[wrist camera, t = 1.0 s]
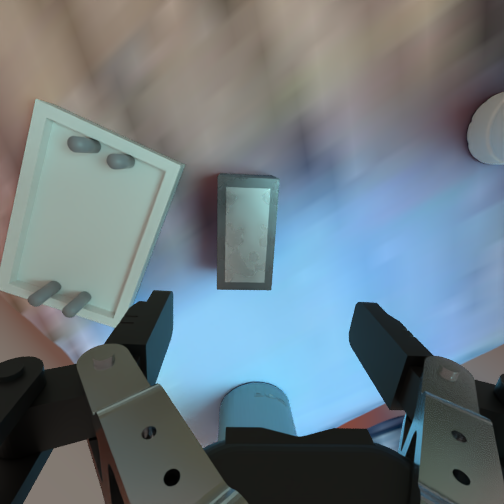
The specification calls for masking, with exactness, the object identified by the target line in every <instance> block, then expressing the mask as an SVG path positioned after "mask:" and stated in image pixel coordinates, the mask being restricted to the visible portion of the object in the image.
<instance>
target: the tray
mask: <svg viewBox="0 0 504 504" xmlns="http://www.w3.org/2000/svg"><path fill="white" fill-rule="evenodd" d="M184 167H185V165H184V164H182V163H180V162H178V161H176V160H173V159H171V158H169V157H167V156H165V155H163V154H160V153H158V152H156V151H154V150H152V149H150V148H147V147H145V146H143V145H141V144H139V143H137V142H134V141H132V140H130V139H128V138H126V137H124V136H122V135H119V134H117V133H115V132H113V131H111V130H109V129H106V128H104V127H102V126H100V125H98V124H96V123H93V122H91V121H89V120H87V119H85V118H83V117H80V116H78V115H76V114H74V113H72V112H70V111H67V110H65V109H63V108H61V107H59V106H57V105H54V104H52V103H49V102H45V101H42V100H39V99H36V100H35V105H34V110H33V114H32V119H31V124H30V129H29V133H28V138H27V143H26V148H25V152H24V157H23V162H22V167H21V171H20V176H19V181H18V186H17V190H16V195H15V200H14V205H13V209H12V214H11V219H10V223H9V228H8V233H7V238H6V242H5V247H4V252H3V257H2V261H1V266H0V290H1V291H4V292H7V293H10V294H13V295H16V296H19V297H22V298H25V299H28V302H29V303H30V304H31V305H32V306H40V305H41V304H44V305H47V306H50V307H53V308H56V309H59V310H62V313H63V314H64V315H65V316H66V317H74V316H75V315H77V316H80V317H83V318H86V319H89V320H92V321H95V322H98V323H102V324H105V325H108V326H111V327H114V328H116V326H117V325H118V323H120V320H121V319H122V318H123V317H124V315H125V313H126V312H127V310H128V309H129V308H130V307H131V306H132V305H133V303H134V300H135V297H136V295H137V292H138V289H139V287H140V284H141V281H142V279H143V276H144V273H145V271H146V268H147V265H148V263H149V260H150V257H151V255H152V252H153V249H154V247H155V244H156V241H157V239H158V236H159V233H160V231H161V228H162V225H163V223H164V220H165V217H166V215H167V212H168V209H169V207H170V204H171V201H172V199H173V196H174V193H175V191H176V188H177V185H178V183H179V180H180V177H181V175H182V172H183V169H184Z"/></svg>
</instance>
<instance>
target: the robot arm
mask: <svg viewBox="0 0 504 504" xmlns="http://www.w3.org/2000/svg"><path fill="white" fill-rule="evenodd" d="M172 331H173V292H172V291H159V290H154V291H153V292H152V294H151V296H150V297H149V299H148V300H147V302H143V301H139V302H137V303H136V304H134V305H133V306H131V307H130V308H129V309H128V310H127V312H126V313H125V315H124V317H123V318H122V319H121V320H120V323H118V325H117V326H116V328H115V329H114V330H113V332H112V333H111V335H110V336H109V338H108V339H107V341H106V342H105V343H104V345H100V346H97V347H94V348H92V349H90V350H88V351H86V352H85V353H84V354H83V355H82V356H81V357H80V358H79V359H78V361H77V364H73V365H69V366H63V367H58V368H52V369H47V370H44V365H43V362H42V361H41V360H40V359H38V358H36V357H18V358H14V359H10V360H7V361H4V362H1V363H0V504H23V502H24V501H25V499H26V497H27V495H28V493H29V492H30V490H31V488H32V486H33V484H34V483H35V481H36V479H37V477H38V475H39V474H40V472H41V470H42V468H43V466H44V465H45V463H46V461H47V459H48V457H49V456H50V454H51V452H52V450H53V448H57V447H60V446H64V445H67V444H71V443H75V442H78V441H82V440H86V439H87V443H88V446H89V449H90V452H91V456H92V459H93V463H94V466H95V469H96V473H97V476H98V479H99V483H100V486H101V489H102V493H103V497H104V501H105V504H504V374H502V375H501V376H500V378H499V380H498V382H497V384H496V385H494V384H489V383H485V382H481V381H478V380H474V378H473V376H472V375H471V373H470V372H469V371H468V370H467V369H465V368H464V367H463V366H461V365H459V364H458V363H456V362H454V361H452V360H449V359H447V358H443V357H439V356H433V355H432V354H431V353H430V352H429V351H428V350H427V349H426V348H425V347H424V346H423V345H422V344H421V343H420V342H419V341H418V340H417V339H416V338H415V337H413V335H412V334H411V333H410V332H409V331H407V329H406V328H405V327H404V325H403V324H402V323H401V322H400V321H398V320H396V319H395V318H393V317H392V316H390V315H388V314H387V313H386V312H385V311H384V310H383V309H382V308H381V307H380V306H379V305H378V304H377V303H370V302H358V303H357V304H356V306H355V310H354V314H353V318H352V322H351V327H350V331H349V342H350V345H351V347H352V349H353V351H354V352H355V354H356V356H357V357H358V359H359V361H360V362H361V364H362V365H363V367H364V369H365V370H366V372H367V374H368V375H369V377H370V379H371V380H372V382H373V384H374V385H375V387H376V388H377V390H378V392H379V393H380V395H381V397H382V398H383V400H384V402H385V403H386V405H387V406H388V408H389V409H390V410H404V411H405V412H406V415H405V418H404V420H403V426H402V432H401V438H400V444H399V450H398V452H396V451H394V450H392V449H390V448H388V447H386V446H383V445H380V444H378V443H374V442H373V440H372V438H371V436H370V434H369V432H368V430H367V429H343V428H342V429H339V428H333V429H329V430H325V431H322V432H318V433H314V434H310V435H307V436H302V437H298V436H297V435H296V430H295V426H294V422H293V417H292V413H291V409H290V404H289V400H288V398H287V396H286V395H285V394H284V393H283V392H282V391H281V390H280V389H279V388H277V387H275V386H273V385H270V384H266V383H248V384H245V385H241V386H239V387H237V388H235V389H233V390H232V391H231V392H229V393H228V394H227V395H226V397H225V398H224V399H223V401H222V403H221V406H220V413H219V433H218V442H216V443H213V444H211V445H208V446H207V447H205V448H202V447H201V445H200V444H199V442H198V441H197V439H196V437H195V436H194V434H193V433H192V431H191V430H190V428H189V427H188V425H187V424H186V422H185V421H184V419H183V418H182V416H181V415H180V413H179V412H178V410H177V409H176V407H175V406H174V404H173V403H172V401H171V400H170V398H169V397H168V395H167V393H166V392H165V390H164V389H163V388H162V386H161V385H160V384H158V383H157V384H155V383H156V380H157V377H158V374H159V372H160V369H161V366H162V363H163V360H164V357H165V354H166V352H167V349H168V346H169V343H170V340H171V337H172Z"/></svg>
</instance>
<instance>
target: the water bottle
mask: <svg viewBox="0 0 504 504" xmlns="http://www.w3.org/2000/svg"><path fill="white" fill-rule="evenodd" d="M467 141H468V143H469V144H468V148H469V151H470V152H471V154H472V155H473V157H475V158H476V159H478V161H480V162H482V163H486V164H499V165H504V92H501V93H499V94H496V95H494V96H492V97H491V98H489V99H488V100H487V101H486V102H485V103H483V104H482V105H481V106H480V107H479V108H478V109H477V111H476V112H475V114H474V115H473V117H472V122H471V123H470V125H469V127H468V131H467Z"/></svg>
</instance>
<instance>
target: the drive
mask: <svg viewBox="0 0 504 504" xmlns="http://www.w3.org/2000/svg"><path fill="white" fill-rule="evenodd" d="M279 180H280V179H278V178H276V177H274V176H272V175H249V174H227V173H220V174H219V175H218V206H217V289H220V290H271V286H272V273H273V259H274V246H275V233H276V219H277V206H278V193H279Z"/></svg>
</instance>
